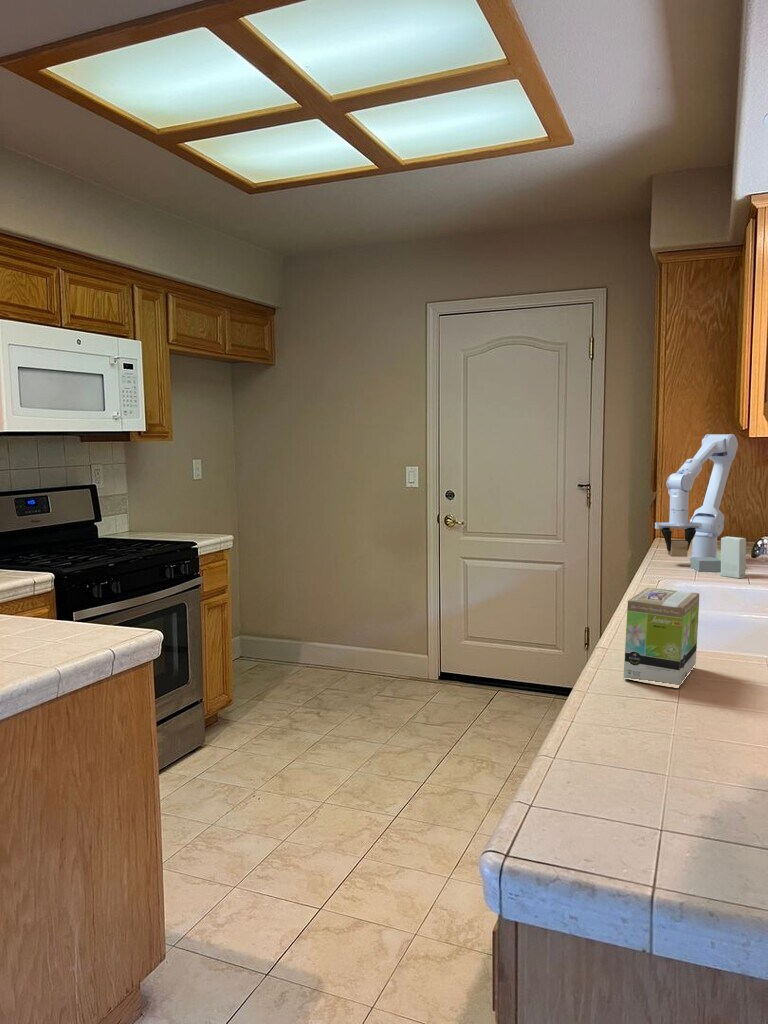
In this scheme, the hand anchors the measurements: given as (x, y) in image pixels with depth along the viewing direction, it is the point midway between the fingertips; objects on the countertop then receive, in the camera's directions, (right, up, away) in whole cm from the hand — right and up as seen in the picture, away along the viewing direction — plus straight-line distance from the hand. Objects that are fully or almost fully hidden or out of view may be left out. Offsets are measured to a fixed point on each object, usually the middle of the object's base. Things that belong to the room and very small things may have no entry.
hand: (677, 550), depth 250 cm
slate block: (+6, -6, -8) cm, 12 cm away
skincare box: (+10, -7, -18) cm, 22 cm away
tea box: (-47, -17, -112) cm, 122 cm away
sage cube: (+14, -6, -4) cm, 16 cm away
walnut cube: (0, -2, 0) cm, 2 cm away
